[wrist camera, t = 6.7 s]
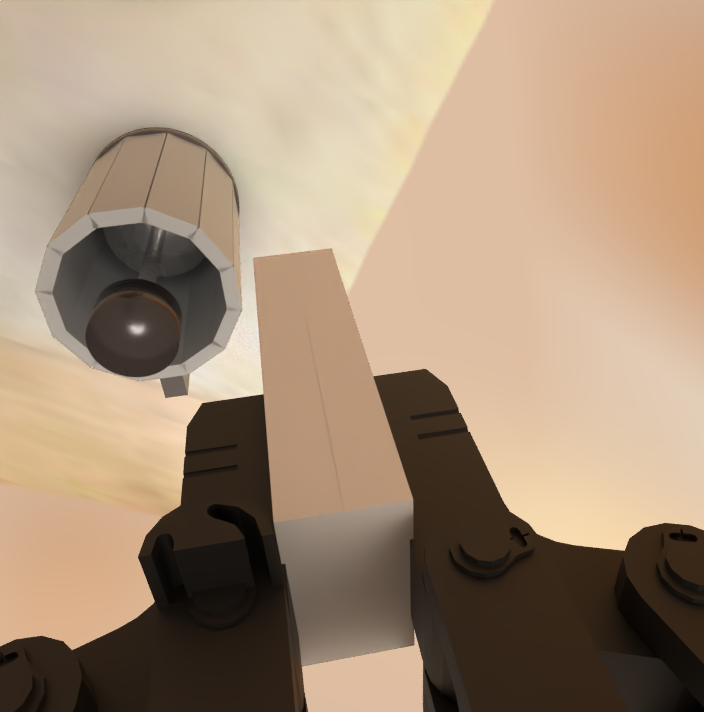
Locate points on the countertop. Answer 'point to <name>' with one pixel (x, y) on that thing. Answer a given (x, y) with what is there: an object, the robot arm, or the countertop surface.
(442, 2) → the countertop surface
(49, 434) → the countertop surface
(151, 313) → the plunger
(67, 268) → the press beaker
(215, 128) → the countertop surface
